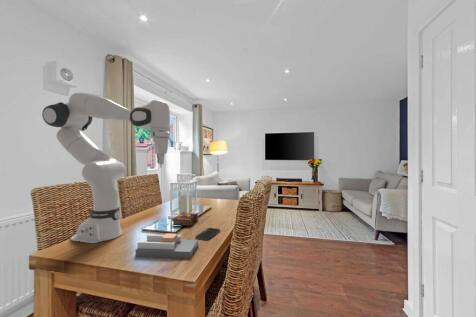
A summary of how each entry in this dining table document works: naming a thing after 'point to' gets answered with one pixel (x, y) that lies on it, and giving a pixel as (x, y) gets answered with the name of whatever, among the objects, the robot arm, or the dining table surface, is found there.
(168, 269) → the dining table surface
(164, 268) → the dining table surface
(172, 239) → the block
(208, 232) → the phone
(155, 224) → the dining table surface
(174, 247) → the channel
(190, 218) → the decorative book
